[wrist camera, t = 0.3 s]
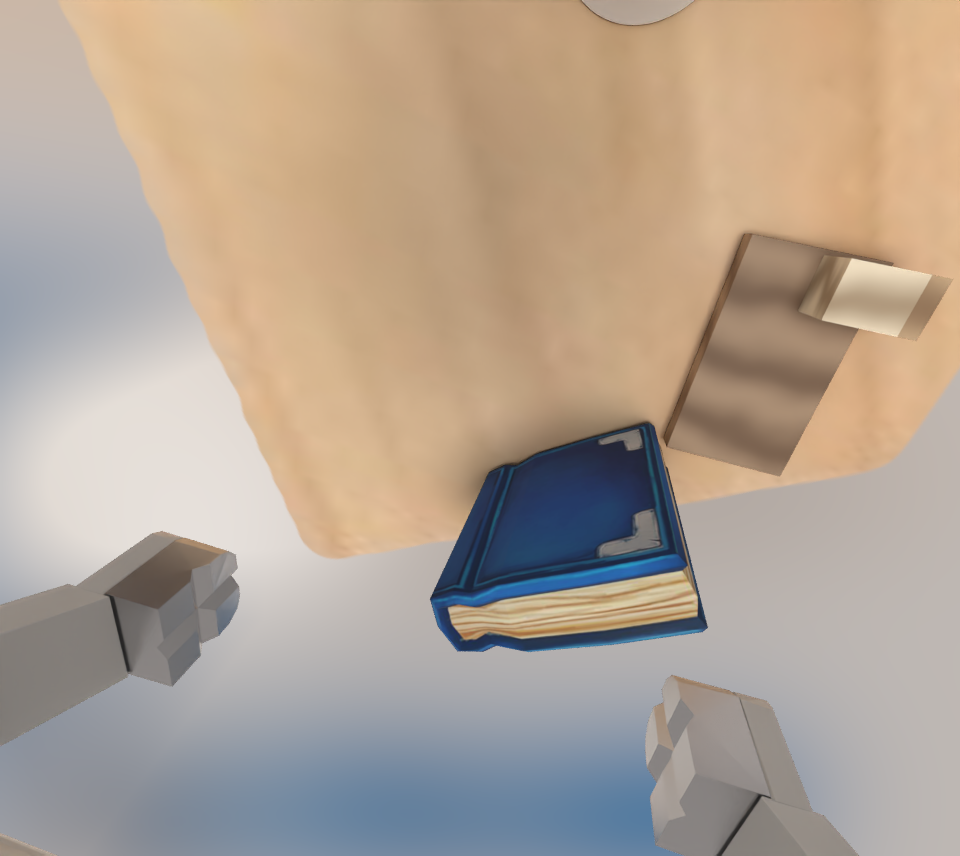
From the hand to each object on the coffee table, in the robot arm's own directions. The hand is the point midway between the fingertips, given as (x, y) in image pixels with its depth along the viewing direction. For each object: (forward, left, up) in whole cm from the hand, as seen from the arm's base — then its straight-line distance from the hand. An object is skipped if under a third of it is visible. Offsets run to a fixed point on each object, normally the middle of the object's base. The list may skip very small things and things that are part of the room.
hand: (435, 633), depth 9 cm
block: (-6, +25, -46) cm, 53 cm away
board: (+2, +21, -47) cm, 51 cm away
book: (+20, +6, -47) cm, 51 cm away
